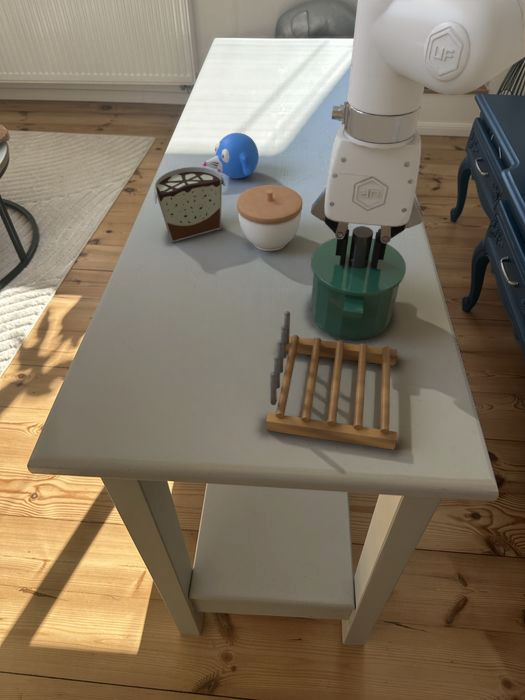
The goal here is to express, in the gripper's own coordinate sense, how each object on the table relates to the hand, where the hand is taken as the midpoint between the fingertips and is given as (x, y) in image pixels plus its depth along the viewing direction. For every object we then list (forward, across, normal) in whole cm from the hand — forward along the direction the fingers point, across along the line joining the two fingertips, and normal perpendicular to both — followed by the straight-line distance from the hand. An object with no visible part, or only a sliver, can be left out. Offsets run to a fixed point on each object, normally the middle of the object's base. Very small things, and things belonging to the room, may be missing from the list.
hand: (358, 259), depth 64 cm
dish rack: (+10, -1, -16) cm, 18 cm away
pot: (+10, 0, 0) cm, 10 cm away
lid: (+1, 0, 0) cm, 1 cm away
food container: (+10, -30, +18) cm, 36 cm away
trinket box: (+10, -15, +16) cm, 24 cm away
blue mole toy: (+10, -27, +37) cm, 47 cm away
